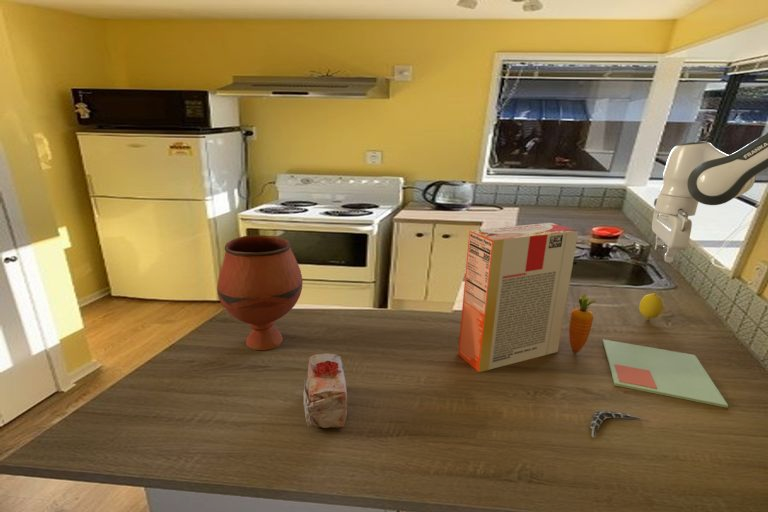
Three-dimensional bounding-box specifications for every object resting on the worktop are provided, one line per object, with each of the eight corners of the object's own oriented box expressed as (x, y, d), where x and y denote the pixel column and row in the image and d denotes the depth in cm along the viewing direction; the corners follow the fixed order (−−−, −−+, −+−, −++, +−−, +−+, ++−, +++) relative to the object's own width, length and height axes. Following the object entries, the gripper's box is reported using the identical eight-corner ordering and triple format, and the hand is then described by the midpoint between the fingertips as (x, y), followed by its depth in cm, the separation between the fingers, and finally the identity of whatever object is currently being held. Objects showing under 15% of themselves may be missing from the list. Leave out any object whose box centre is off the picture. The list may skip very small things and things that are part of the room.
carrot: (568, 345, 105) (579, 289, 100) (589, 353, 101) (601, 295, 97) (560, 352, 101) (570, 295, 97) (581, 361, 98) (592, 301, 93)
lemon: (637, 313, 124) (643, 287, 121) (660, 318, 121) (666, 292, 118) (635, 320, 119) (641, 293, 117) (658, 325, 116) (665, 299, 114)
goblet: (256, 373, 90) (248, 262, 82) (206, 344, 101) (194, 243, 93) (321, 339, 104) (319, 242, 97) (271, 316, 115) (265, 227, 108)
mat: (694, 357, 101) (695, 354, 101) (727, 408, 83) (728, 405, 83) (602, 341, 107) (602, 338, 107) (614, 385, 89) (615, 382, 89)
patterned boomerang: (620, 401, 83) (644, 418, 79) (620, 404, 83) (643, 421, 79) (572, 416, 78) (594, 436, 74) (571, 420, 78) (593, 439, 74)
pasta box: (533, 336, 109) (550, 222, 99) (557, 351, 102) (578, 230, 92) (458, 354, 100) (469, 230, 90) (478, 372, 93) (493, 240, 83)
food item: (351, 432, 74) (351, 383, 71) (304, 437, 72) (302, 388, 69) (342, 385, 87) (342, 342, 84) (303, 389, 85) (301, 346, 82)
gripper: (704, 215, 100) (688, 270, 104) (678, 200, 118) (666, 247, 122) (673, 212, 101) (659, 266, 106) (653, 198, 120) (641, 245, 124)
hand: (662, 256), depth 114 cm, fingers open, 8 cm apart
